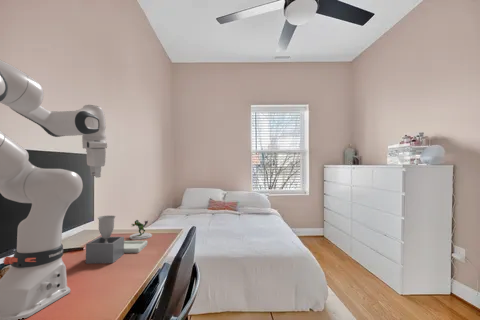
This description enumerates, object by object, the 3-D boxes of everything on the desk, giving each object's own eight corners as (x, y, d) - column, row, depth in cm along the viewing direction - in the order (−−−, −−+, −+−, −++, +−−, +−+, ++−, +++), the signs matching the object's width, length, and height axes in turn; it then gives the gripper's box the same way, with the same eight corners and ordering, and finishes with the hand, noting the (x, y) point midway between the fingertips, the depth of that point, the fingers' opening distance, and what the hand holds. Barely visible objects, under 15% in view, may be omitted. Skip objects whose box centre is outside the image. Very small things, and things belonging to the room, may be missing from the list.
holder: (112, 263, 106) (113, 243, 106) (85, 263, 105) (86, 243, 105) (123, 254, 117) (124, 236, 117) (99, 254, 116) (99, 236, 116)
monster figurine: (125, 237, 146) (125, 219, 146) (144, 233, 155) (144, 216, 156) (137, 241, 139) (137, 221, 139) (156, 236, 148) (156, 218, 148)
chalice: (92, 259, 110) (93, 217, 110) (107, 255, 116) (108, 215, 116) (103, 262, 106) (104, 219, 107) (118, 257, 112) (119, 216, 113)
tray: (138, 252, 119) (138, 248, 119) (110, 253, 118) (110, 248, 118) (147, 244, 132) (147, 240, 132) (121, 244, 131) (121, 240, 131)
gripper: (82, 145, 115) (83, 175, 115) (90, 143, 99) (91, 178, 99) (98, 145, 119) (99, 174, 119) (108, 143, 103) (109, 177, 103)
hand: (95, 176), depth 109 cm, fingers open, 8 cm apart
